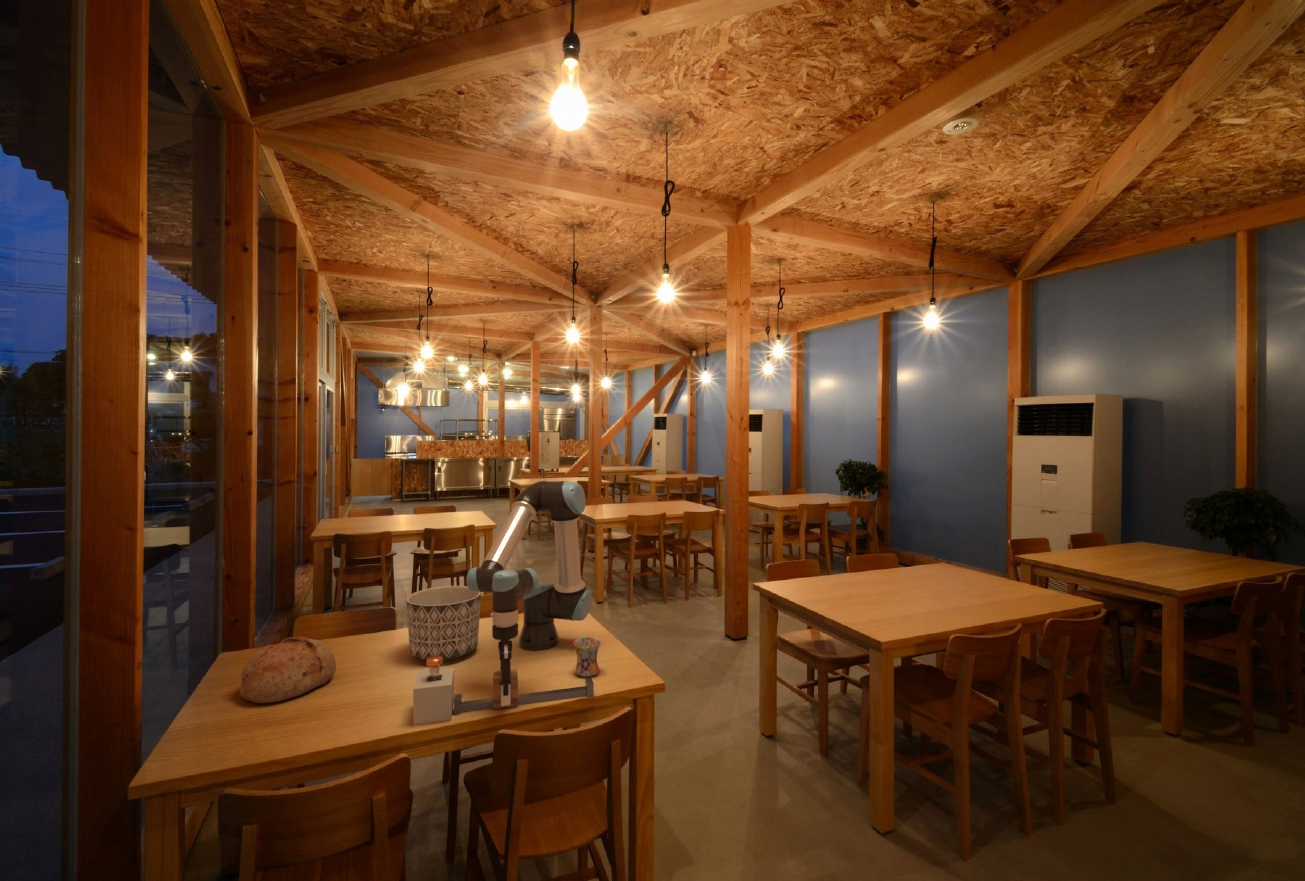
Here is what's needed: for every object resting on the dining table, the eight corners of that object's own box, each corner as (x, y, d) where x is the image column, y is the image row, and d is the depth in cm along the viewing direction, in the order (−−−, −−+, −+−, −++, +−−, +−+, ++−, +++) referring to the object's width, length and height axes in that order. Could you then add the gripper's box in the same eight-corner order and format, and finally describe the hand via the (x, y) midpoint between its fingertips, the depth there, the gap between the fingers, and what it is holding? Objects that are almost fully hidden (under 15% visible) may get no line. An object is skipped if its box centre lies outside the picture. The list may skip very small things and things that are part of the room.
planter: (480, 638, 222) (480, 583, 222) (481, 663, 197) (481, 601, 197) (409, 645, 214) (409, 588, 214) (402, 672, 189) (402, 608, 189)
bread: (272, 712, 162) (272, 661, 162) (220, 699, 170) (220, 650, 170) (351, 676, 186) (351, 632, 186) (301, 666, 195) (301, 623, 194)
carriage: (493, 701, 168) (493, 671, 168) (516, 698, 170) (517, 668, 170) (493, 709, 163) (493, 678, 163) (517, 705, 165) (517, 675, 165)
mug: (603, 676, 186) (603, 645, 186) (576, 680, 183) (576, 648, 183) (595, 663, 197) (595, 633, 197) (569, 666, 194) (569, 636, 194)
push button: (427, 678, 163) (427, 656, 163) (443, 676, 164) (443, 655, 164) (425, 684, 159) (425, 662, 159) (442, 682, 160) (442, 660, 160)
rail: (454, 708, 164) (454, 694, 164) (591, 690, 176) (591, 677, 176) (453, 714, 160) (453, 700, 160) (593, 696, 172) (593, 683, 172)
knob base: (418, 705, 166) (418, 671, 166) (453, 700, 169) (453, 668, 169) (413, 724, 155) (413, 689, 154) (451, 719, 157) (451, 684, 157)
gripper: (491, 615, 174) (491, 689, 174) (492, 635, 157) (492, 717, 157) (516, 613, 176) (516, 686, 176) (519, 632, 159) (519, 713, 159)
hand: (505, 700), depth 166 cm, fingers closed on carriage, 5 cm apart
